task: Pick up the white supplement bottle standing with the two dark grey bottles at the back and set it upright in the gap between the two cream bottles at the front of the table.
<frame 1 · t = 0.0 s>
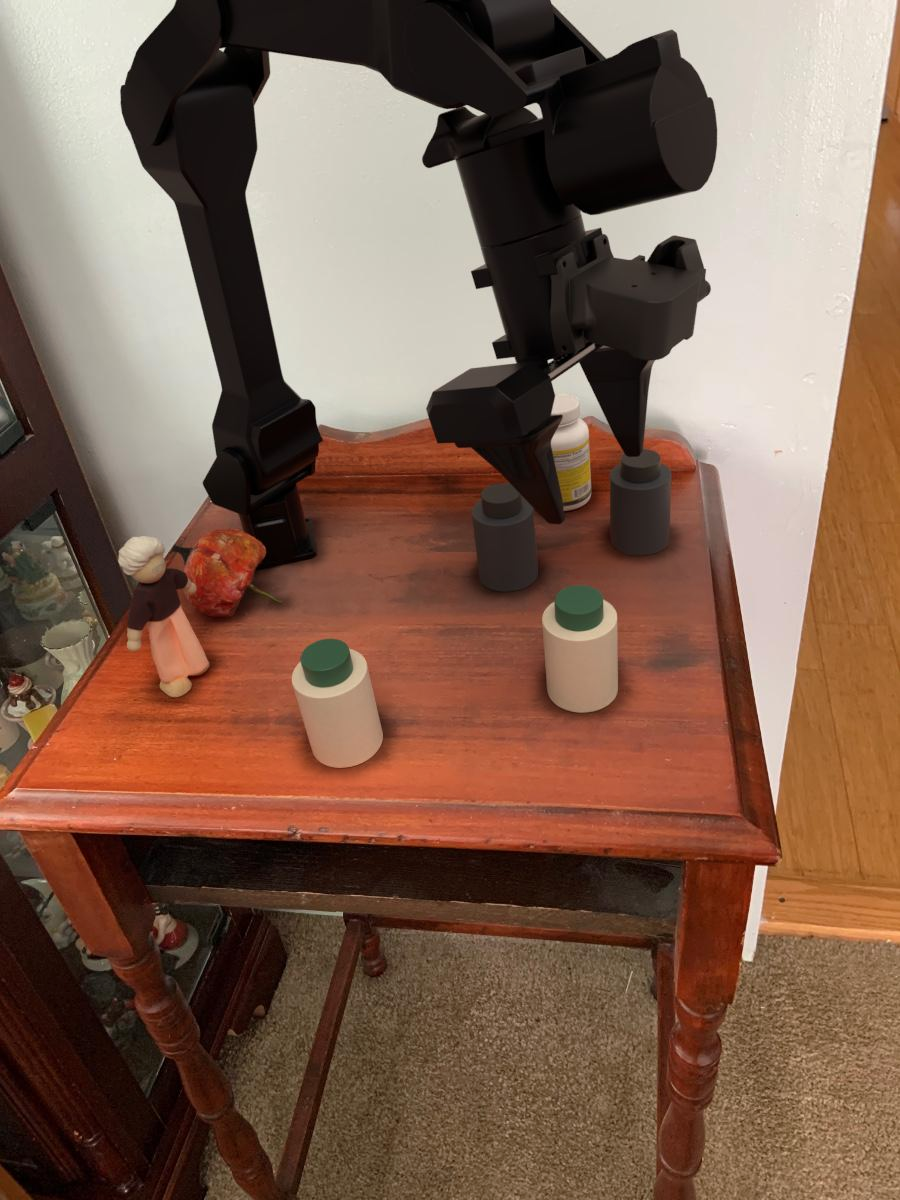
hand: (597, 487, 56), 15 cm above the table, tool pointing down, fingers open, 9 cm apart
grandmother figurine: (189, 674, 71), on the table
red orange flower: (239, 606, 78), on the table
cream bottle 2: (582, 688, 65), on the table
cream bottle 1: (347, 741, 63), on the table
grey bottle right: (639, 539, 79), on the table
grey bottle left: (508, 574, 77), on the table
supplement bottle: (562, 500, 86), on the table
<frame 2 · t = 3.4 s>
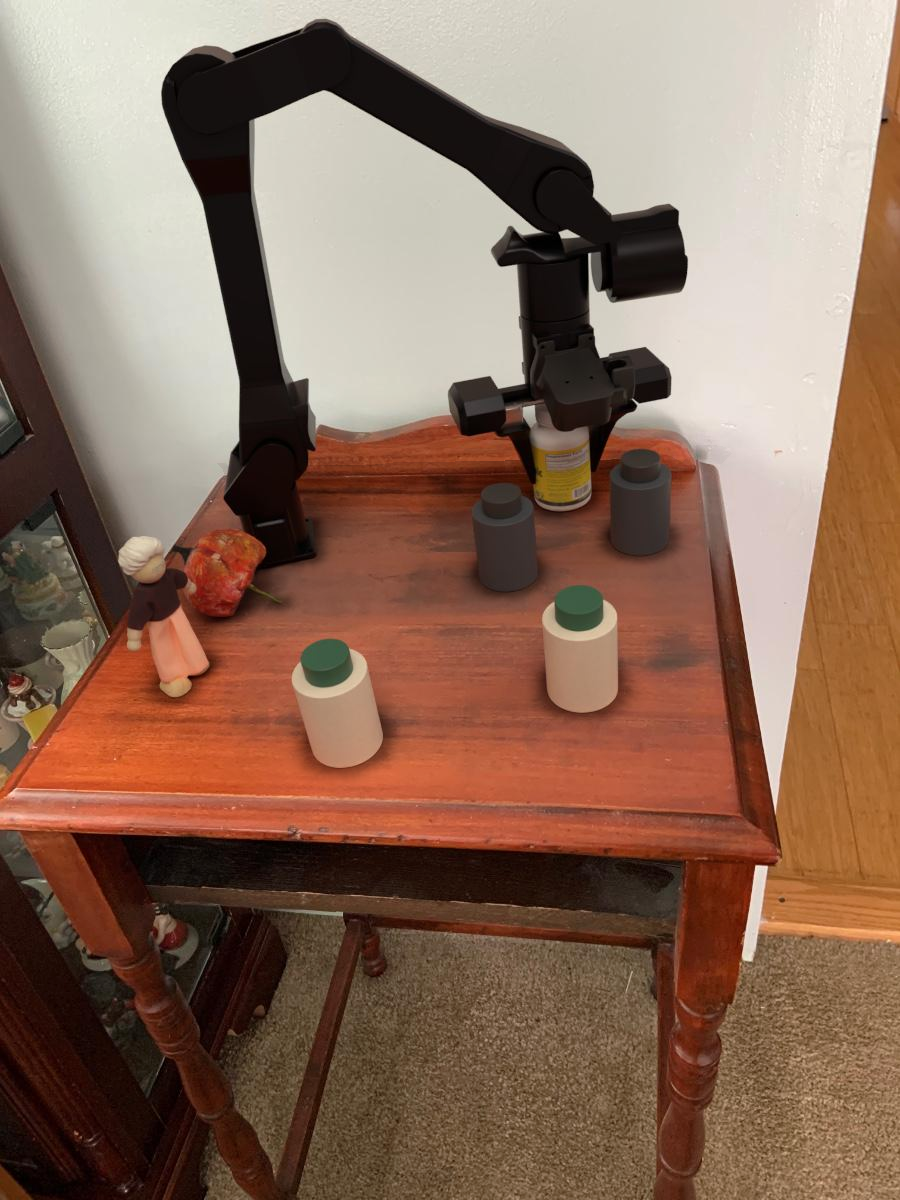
hand: (561, 476, 84), 3 cm above the table, tool pointing down, fingers closed on supplement bottle, 5 cm apart
supplement bottle: (562, 500, 86), on the table, touching gripper
everything else where it was.
when the fingers open (2 cm above the table, at t = 10.8 s): supplement bottle stays where it is, on the table.
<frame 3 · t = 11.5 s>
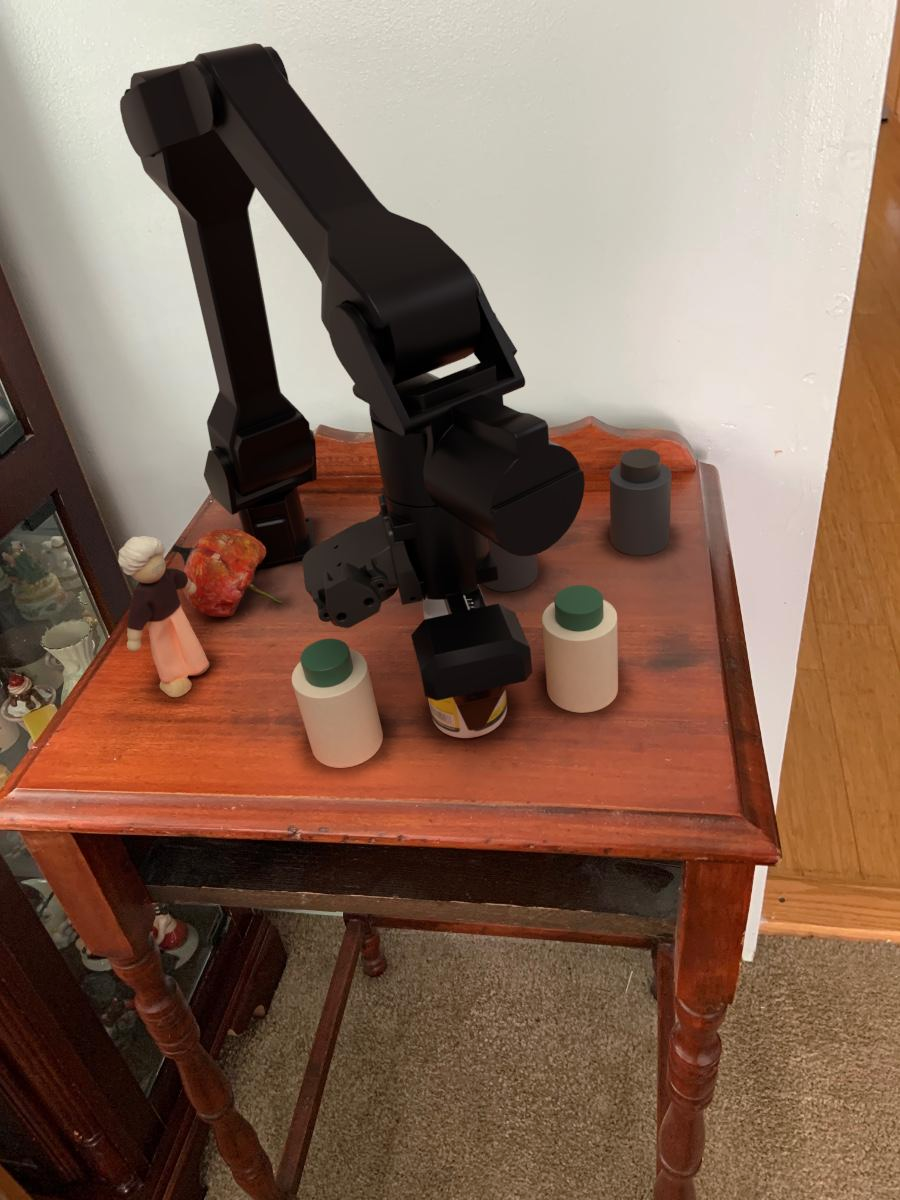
hand: (461, 682, 62), 3 cm above the table, tool pointing down, fingers open, 9 cm apart
supplement bottle: (469, 715, 64), on the table
everything else where it was.
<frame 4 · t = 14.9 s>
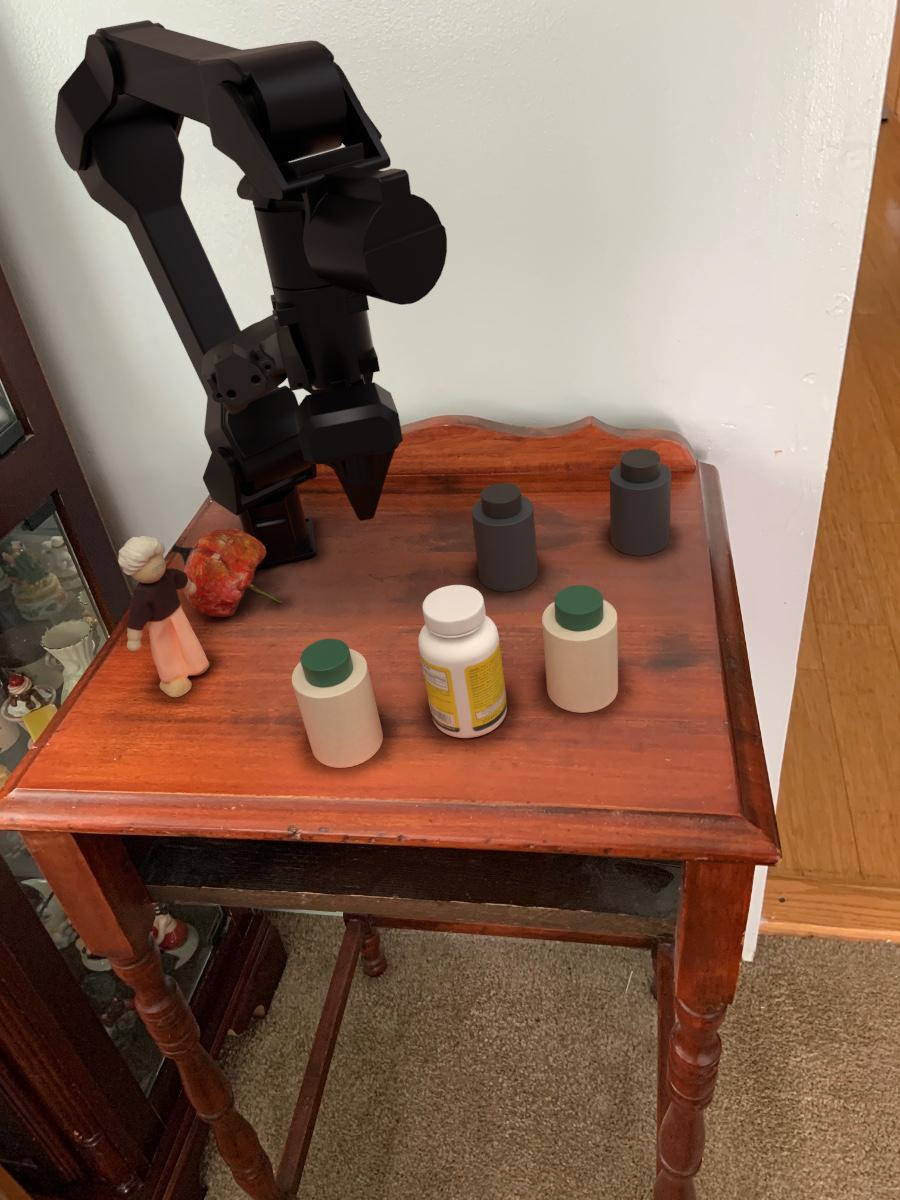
hand: (358, 488, 67), 12 cm above the table, tool pointing down, fingers open, 9 cm apart
nothing on the table moved.
at the end: supplement bottle 0.2 cm from the target spot on the table beside the cream bottle 1, on the table; supplement bottle 8.3 cm from the cream bottle 2 (horizontally); supplement bottle tilted 0° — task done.
